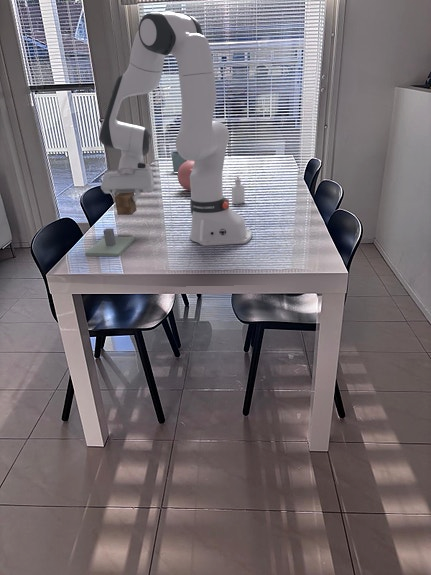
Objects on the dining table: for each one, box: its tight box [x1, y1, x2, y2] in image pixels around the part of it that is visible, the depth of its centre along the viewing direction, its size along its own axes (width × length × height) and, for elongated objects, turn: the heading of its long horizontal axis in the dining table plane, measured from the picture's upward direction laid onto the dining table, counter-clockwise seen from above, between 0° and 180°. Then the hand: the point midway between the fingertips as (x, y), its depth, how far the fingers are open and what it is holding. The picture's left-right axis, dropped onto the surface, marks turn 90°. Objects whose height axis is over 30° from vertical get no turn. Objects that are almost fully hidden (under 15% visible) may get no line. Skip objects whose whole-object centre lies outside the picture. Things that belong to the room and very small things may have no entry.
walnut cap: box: [114, 193, 137, 216], centre depth 162 cm, size 6×6×7 cm
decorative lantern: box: [177, 160, 194, 192], centre depth 212 cm, size 15×20×15 cm
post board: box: [84, 227, 136, 257], centre depth 149 cm, size 12×16×6 cm
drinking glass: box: [170, 150, 188, 173], centre depth 260 cm, size 10×10×12 cm
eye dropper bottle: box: [231, 175, 246, 205], centre depth 191 cm, size 4×6×12 cm
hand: (124, 201), depth 161 cm, fingers closed on walnut cap, 6 cm apart
